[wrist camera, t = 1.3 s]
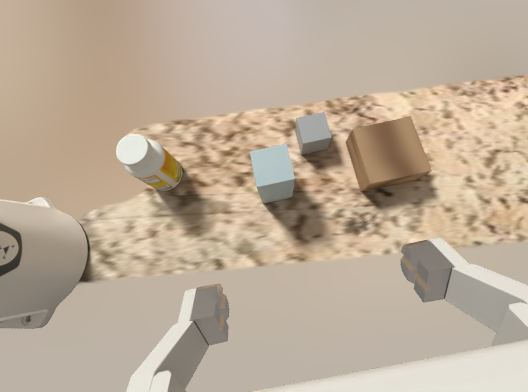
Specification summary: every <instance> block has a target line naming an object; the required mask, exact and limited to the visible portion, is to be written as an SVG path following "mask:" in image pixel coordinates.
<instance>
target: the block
mask: <svg viewBox="0 0 528 392" xmlns="http://www.w3.org/2000/svg"><path fill="white" fill-rule="evenodd" d="M295 132H296V136H297V140H298V144H299V148H300V152H301V155H303V154H308V153H312V152H317V151H322V150H326V149H327V148H328V146H329V143H330V140H331V138H332V137H331V133H330V130H329V126H328V123H327V120H326V116H325V113H324V112H323V113H318V114H314V115H309V116H304V117H300V118H296V130H295Z"/></svg>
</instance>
